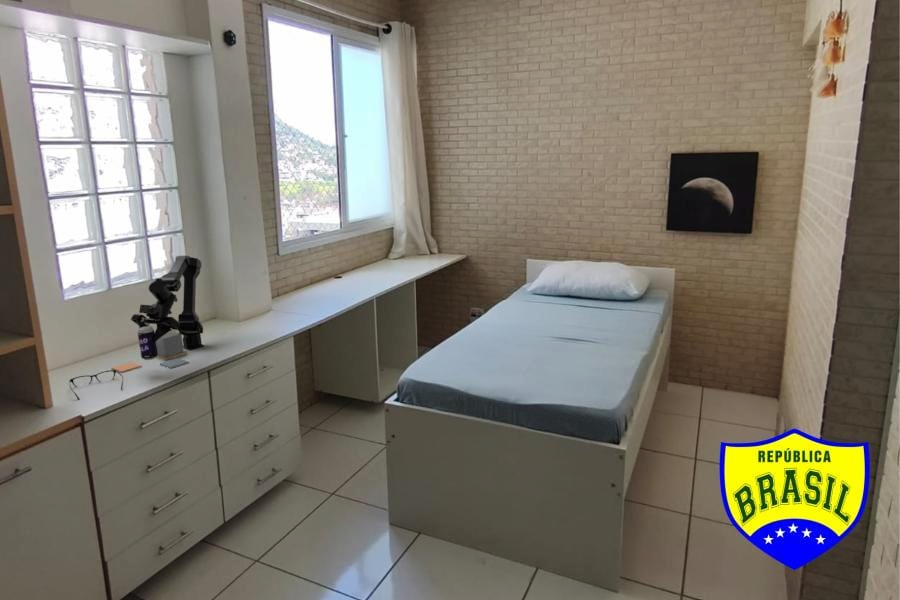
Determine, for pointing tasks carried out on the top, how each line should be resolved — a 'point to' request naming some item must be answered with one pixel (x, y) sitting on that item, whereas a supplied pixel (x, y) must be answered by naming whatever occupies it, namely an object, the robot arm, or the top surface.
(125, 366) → the terracotta pad
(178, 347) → the grey unit
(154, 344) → the beverage can
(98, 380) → the eyeglasses
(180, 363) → the slate pad
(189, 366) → the top surface
